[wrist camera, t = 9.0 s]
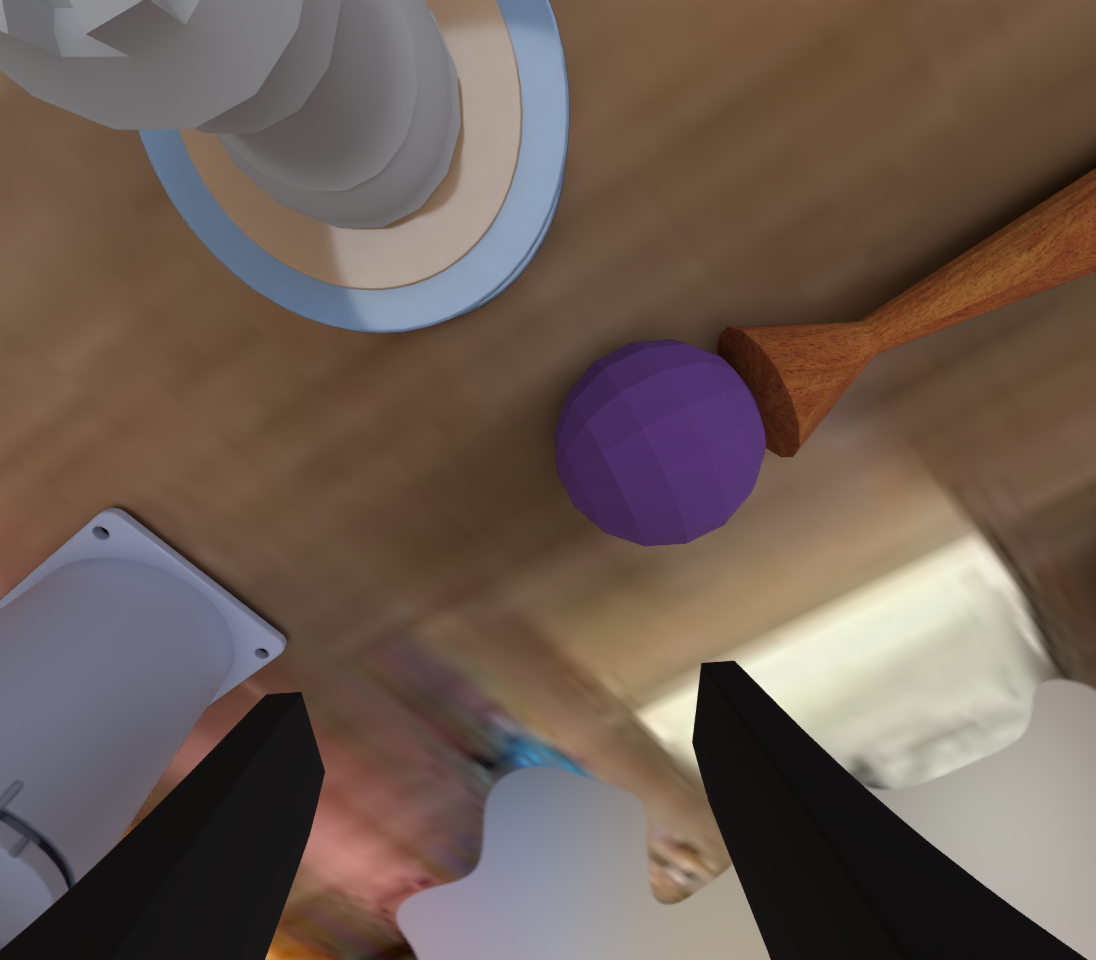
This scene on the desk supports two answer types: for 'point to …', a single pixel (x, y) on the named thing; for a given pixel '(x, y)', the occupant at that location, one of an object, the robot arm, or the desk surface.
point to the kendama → (776, 383)
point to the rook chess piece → (261, 89)
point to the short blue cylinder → (442, 221)
